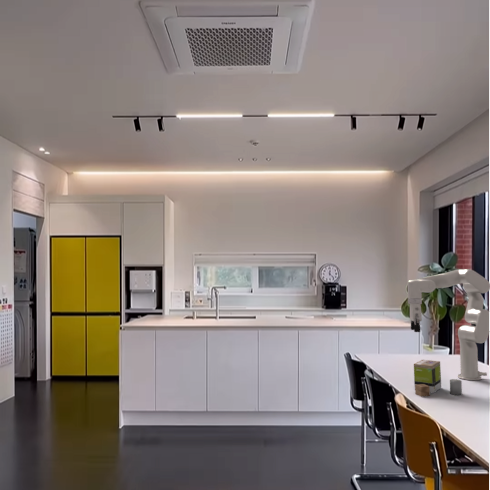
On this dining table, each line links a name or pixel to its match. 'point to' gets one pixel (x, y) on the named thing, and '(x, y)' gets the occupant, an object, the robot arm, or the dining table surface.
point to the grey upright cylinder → (455, 387)
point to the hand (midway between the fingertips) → (415, 330)
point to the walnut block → (422, 390)
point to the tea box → (428, 374)
